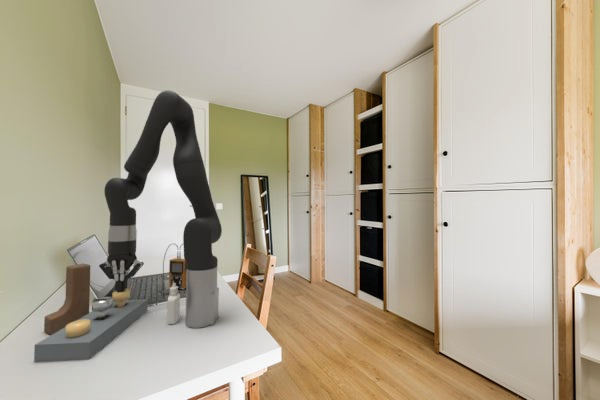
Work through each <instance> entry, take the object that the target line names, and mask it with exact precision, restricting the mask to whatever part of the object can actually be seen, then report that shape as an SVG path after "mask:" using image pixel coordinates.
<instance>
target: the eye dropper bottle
mask: <svg viewBox="0 0 600 400" xmlns="http://www.w3.org/2000/svg"><path fill="white" fill-rule="evenodd" d="M178 291H179V290H178V286H176V283H173V286H172V287H171V288H170V289H169V292H170V293H169V294H168V297H167V304H166V309H167V310H166V324H167V325H175V324H177V323H178V322H179V321H180V318H181V317H180V316H181V295H180V293H179V292H178Z"/></svg>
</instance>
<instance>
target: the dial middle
mask: <svg viewBox="0 0 600 400" xmlns="http://www.w3.org/2000/svg"><path fill="white" fill-rule="evenodd" d="M112 302H113V298H112V296H103V297H99V298H94V299H93V300H92V301H91V312H92V311H94V312H98V320H105V319H106V318H107V309H109V308H111V307H112Z"/></svg>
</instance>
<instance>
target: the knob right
mask: <svg viewBox="0 0 600 400" xmlns="http://www.w3.org/2000/svg"><path fill="white" fill-rule="evenodd" d="M111 293H112V296H111V297H112V298H113V301H114V302H117V307H124V306H125V300H130V298H131V290H130V289H129V288H127V289H126V290H125V291H123V292H117V290H115V291H113V292H111Z"/></svg>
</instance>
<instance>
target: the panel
mask: <svg viewBox="0 0 600 400" xmlns="http://www.w3.org/2000/svg"><path fill="white" fill-rule="evenodd" d="M148 304H149V303H148V299H147V298H146V299H127V300H125V306H124V307H117V302H114V301H113V302H112V307H111V308H109V309H107V318H106V319H105V320H98V312H94V311H92V310H91V311H89V314H87V315H85V316H83V317H82V318H80V319H78V320H81V319H89V320H90V331H89V332H87V333H86V334H84V335H81V336H78V337H73V338H67V337H66V327H64V328H63V329H61V330H59V331H58V332H56V333H54V334H52V335H49V336H48V337H46V338H44V339H42V340H40V341H38V342H37V343H36V344H34V353H33V354H34V355H33V356H34V358H33V362H34V363H39V362H41V363H42V362H58V361H59V362H60V361H61V362H62V361H80V360H90V359H91V358H92V357H94V356H95V355H96V354H97V353H99V352H100V351H101V350H102V349H104V348H105V346H107V345H108V344H109V343H110V342H112V341H114V339H116V338H117V337H118V336H119V335H120V334H121V333H123V332H124V331H125V330H126V329H128V328H129V327H130V326H131V325H133V324H134V322H136V321H137V320H138V319H139V318H141V317H142V316H144V315H145V314H146V313H147V312H148ZM76 321H77V320H76Z"/></svg>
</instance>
